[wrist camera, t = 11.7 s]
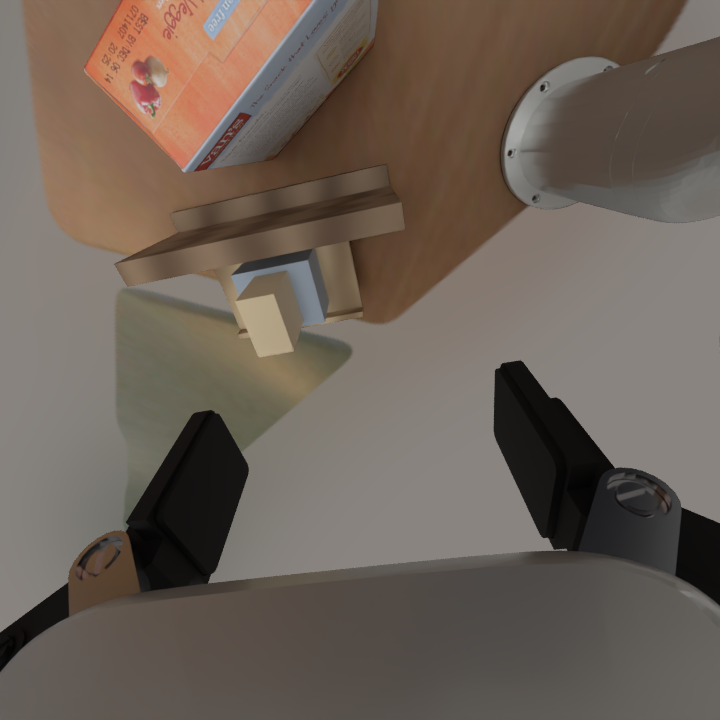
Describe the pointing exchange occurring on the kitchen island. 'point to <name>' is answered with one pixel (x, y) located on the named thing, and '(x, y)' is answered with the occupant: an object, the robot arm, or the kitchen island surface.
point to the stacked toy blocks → (280, 299)
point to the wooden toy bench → (278, 235)
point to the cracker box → (228, 70)
